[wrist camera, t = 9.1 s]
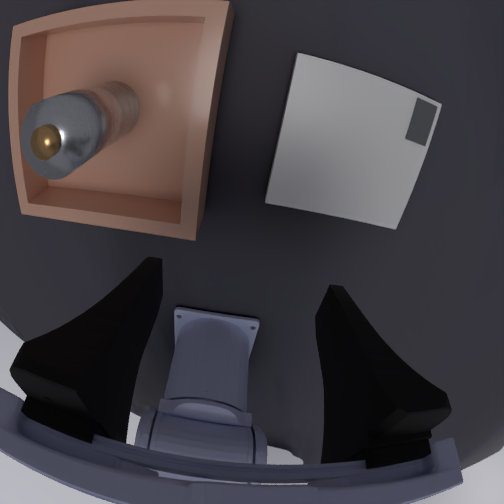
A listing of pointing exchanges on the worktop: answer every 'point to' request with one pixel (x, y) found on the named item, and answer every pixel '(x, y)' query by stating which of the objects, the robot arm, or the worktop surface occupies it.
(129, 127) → the cell
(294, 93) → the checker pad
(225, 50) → the bin
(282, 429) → the worktop surface
